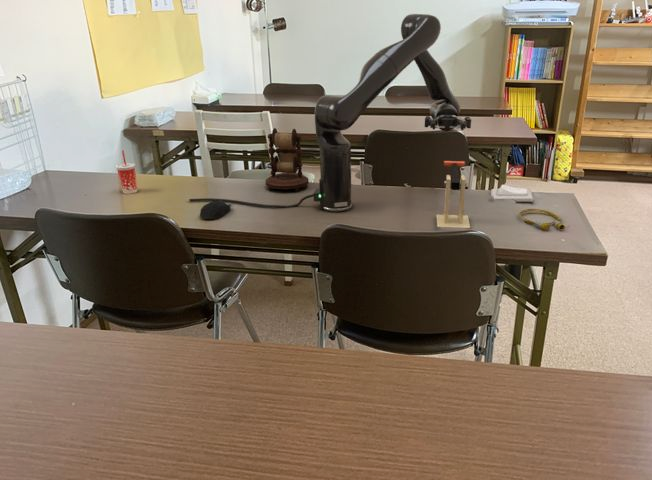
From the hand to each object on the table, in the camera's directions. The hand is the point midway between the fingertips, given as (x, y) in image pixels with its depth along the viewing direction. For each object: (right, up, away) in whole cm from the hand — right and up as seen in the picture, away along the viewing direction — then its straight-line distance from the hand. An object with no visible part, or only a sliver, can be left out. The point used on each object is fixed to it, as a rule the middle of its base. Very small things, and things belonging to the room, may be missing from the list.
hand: (448, 126), depth 168 cm
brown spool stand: (-52, -15, +25) cm, 59 cm away
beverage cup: (-104, -17, +21) cm, 108 cm away
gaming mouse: (-70, -26, +1) cm, 74 cm away
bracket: (0, -30, -10) cm, 32 cm away
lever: (0, -17, -10) cm, 20 cm away
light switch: (+22, -20, +13) cm, 33 cm away
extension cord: (+25, -30, -8) cm, 39 cm away
